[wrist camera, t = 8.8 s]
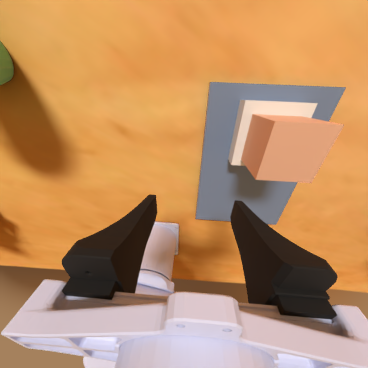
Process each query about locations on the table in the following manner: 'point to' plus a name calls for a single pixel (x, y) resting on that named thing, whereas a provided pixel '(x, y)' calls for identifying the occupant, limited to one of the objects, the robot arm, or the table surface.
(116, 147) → the table surface
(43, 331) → the robot arm
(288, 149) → the terracotta block
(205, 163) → the board
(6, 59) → the mug
